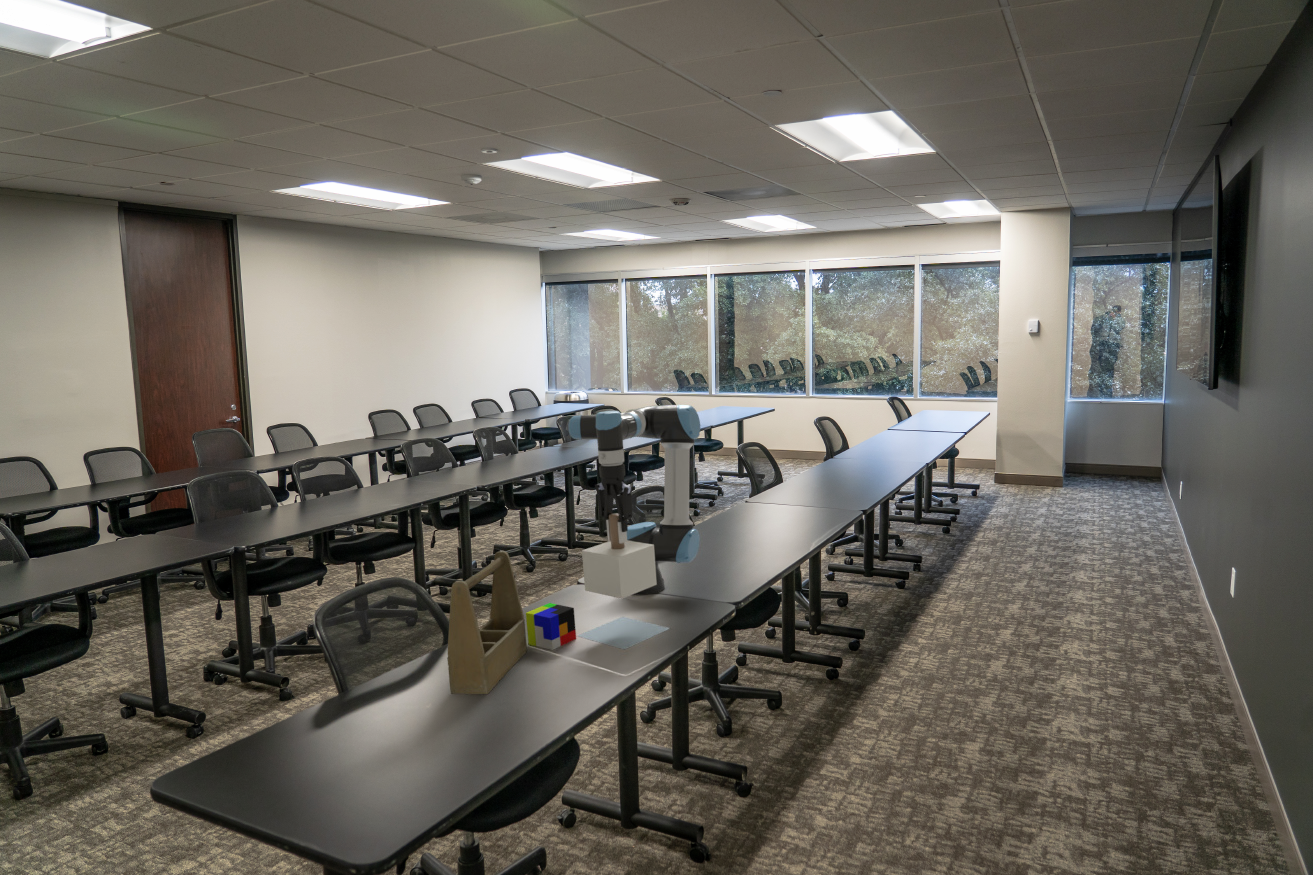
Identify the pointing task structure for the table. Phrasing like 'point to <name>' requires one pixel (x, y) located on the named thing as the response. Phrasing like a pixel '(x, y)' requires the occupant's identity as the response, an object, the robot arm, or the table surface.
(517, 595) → the caddy
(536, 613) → the puzzle toy
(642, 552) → the cover box
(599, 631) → the mat
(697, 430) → the robot arm
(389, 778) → the table surface
